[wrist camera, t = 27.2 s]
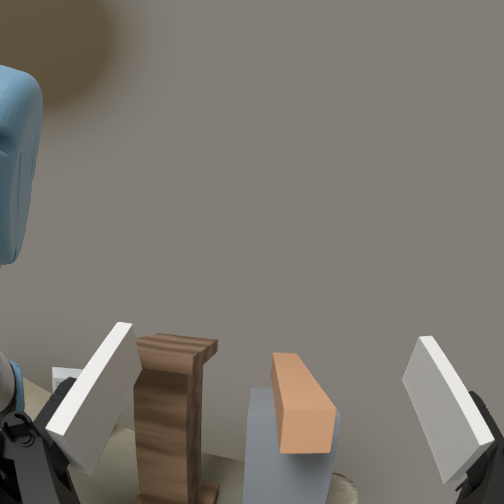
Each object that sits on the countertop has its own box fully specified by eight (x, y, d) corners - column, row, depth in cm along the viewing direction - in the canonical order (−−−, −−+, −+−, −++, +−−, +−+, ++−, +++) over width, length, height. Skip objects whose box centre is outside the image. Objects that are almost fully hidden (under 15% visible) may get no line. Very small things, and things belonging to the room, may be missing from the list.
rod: (329, 452, 20) (336, 408, 20) (279, 453, 20) (284, 409, 21) (294, 375, 49) (295, 353, 50) (271, 374, 49) (272, 352, 50)
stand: (201, 550, 25) (202, 357, 30) (120, 531, 26) (101, 342, 31) (218, 490, 43) (224, 339, 48) (155, 480, 43) (153, 332, 48)
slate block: (312, 555, 24) (340, 415, 28) (238, 555, 25) (247, 414, 29) (304, 511, 36) (321, 388, 40) (243, 510, 37) (252, 387, 41)
